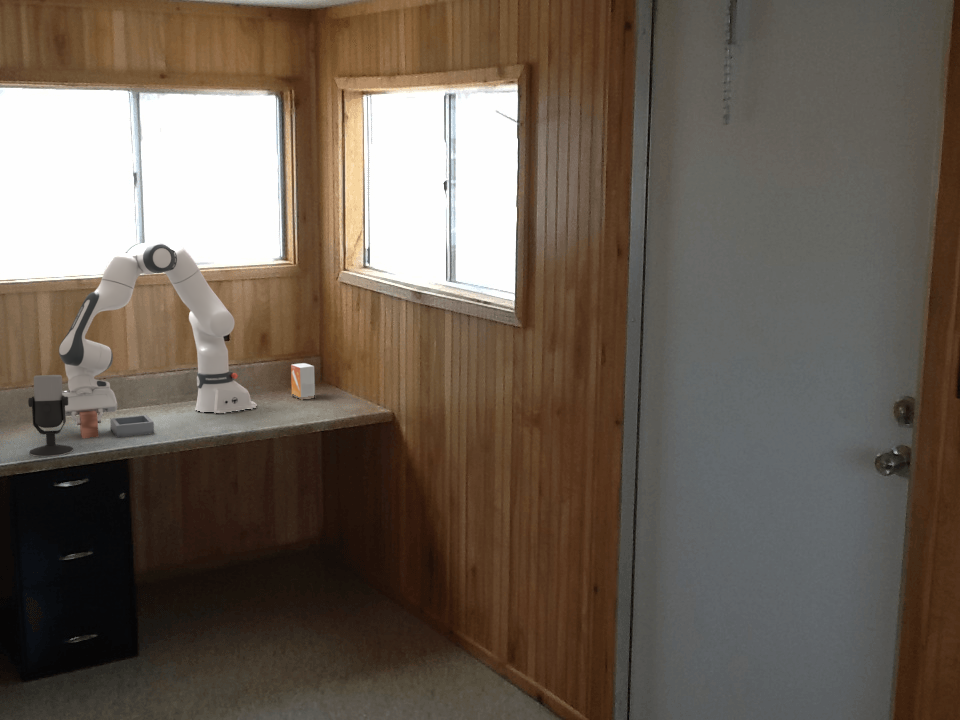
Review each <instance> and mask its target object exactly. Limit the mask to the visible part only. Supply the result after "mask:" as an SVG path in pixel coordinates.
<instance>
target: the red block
mask: <svg viewBox="0 0 960 720" xmlns="http://www.w3.org/2000/svg"><path fill="white" fill-rule="evenodd" d="M78 416H79V418H81V425H79V427H80V428H79V430H80V431H79V432H80V437H81V438H82V439H90V437H93V438H99V423H98V419H97V417H98V413H96V412H95V411H86V412H79V415H78Z"/></svg>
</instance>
